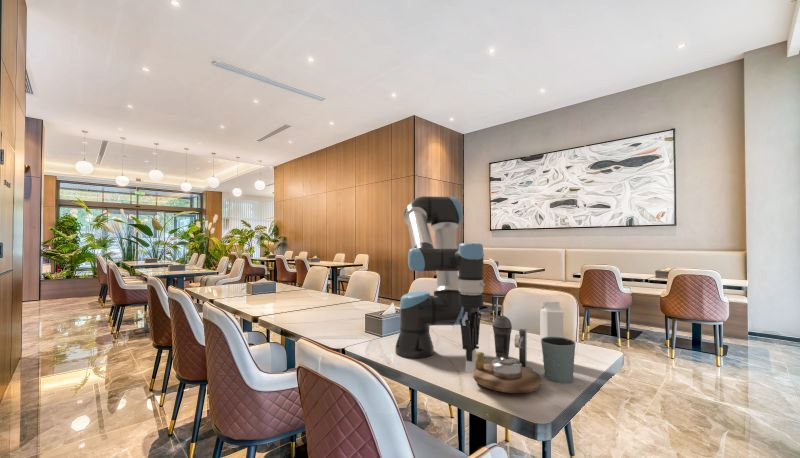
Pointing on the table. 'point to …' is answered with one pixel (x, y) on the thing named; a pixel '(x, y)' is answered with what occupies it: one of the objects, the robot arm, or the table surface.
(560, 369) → the grey-green tumbler
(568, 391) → the table surface
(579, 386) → the table surface
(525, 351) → the dial gauge
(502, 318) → the beverage cup
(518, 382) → the turntable
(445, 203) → the robot arm
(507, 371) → the cover
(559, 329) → the milk
